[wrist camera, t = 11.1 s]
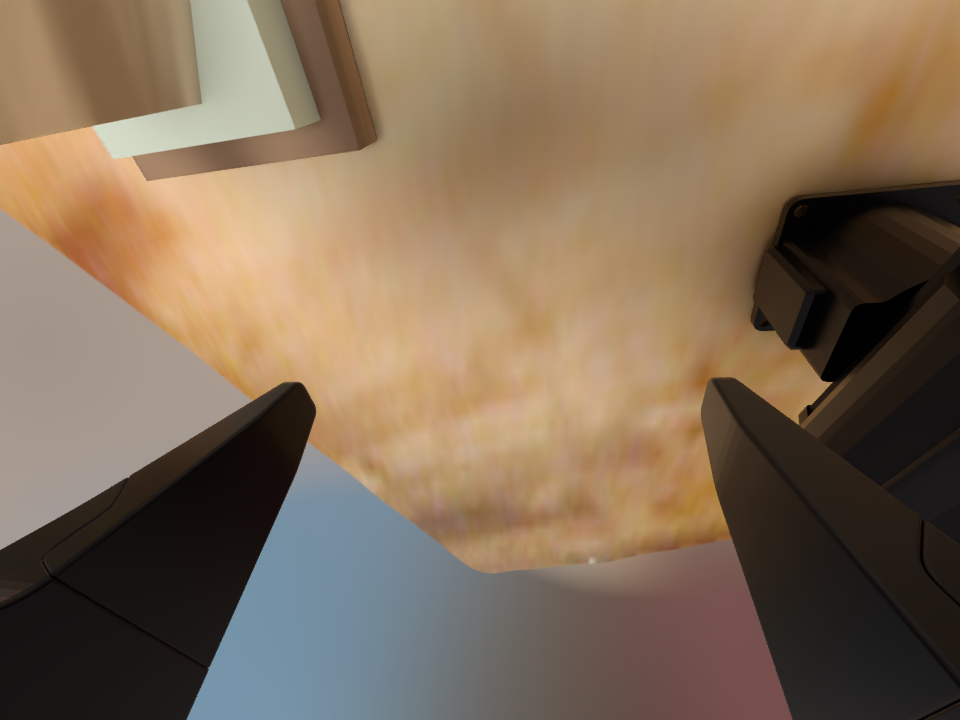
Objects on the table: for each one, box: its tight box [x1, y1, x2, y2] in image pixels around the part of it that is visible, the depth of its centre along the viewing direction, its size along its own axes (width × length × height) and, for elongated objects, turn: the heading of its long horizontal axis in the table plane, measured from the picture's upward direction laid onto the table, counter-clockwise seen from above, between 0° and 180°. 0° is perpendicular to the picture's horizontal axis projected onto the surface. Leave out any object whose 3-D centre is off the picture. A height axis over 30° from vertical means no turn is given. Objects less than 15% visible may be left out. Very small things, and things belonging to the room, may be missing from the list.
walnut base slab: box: [132, 0, 377, 181], centre depth 15 cm, size 11×11×2 cm
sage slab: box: [92, 0, 321, 159], centre depth 14 cm, size 8×8×2 cm
